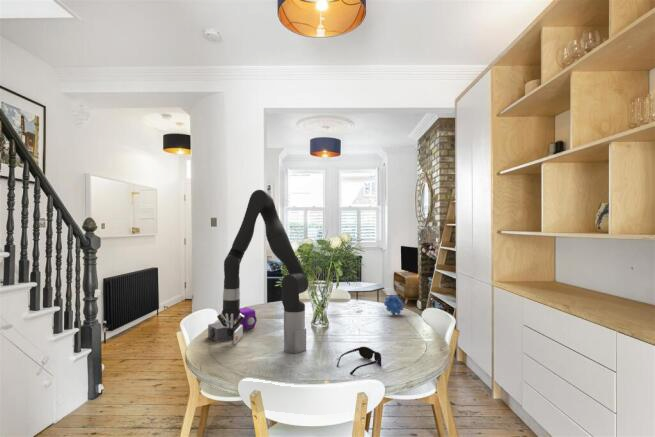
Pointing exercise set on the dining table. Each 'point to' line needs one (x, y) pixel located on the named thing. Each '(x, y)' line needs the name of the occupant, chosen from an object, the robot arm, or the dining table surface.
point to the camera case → (219, 332)
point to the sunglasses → (365, 356)
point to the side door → (238, 334)
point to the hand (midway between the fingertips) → (230, 335)
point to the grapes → (394, 304)
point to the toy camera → (247, 318)
